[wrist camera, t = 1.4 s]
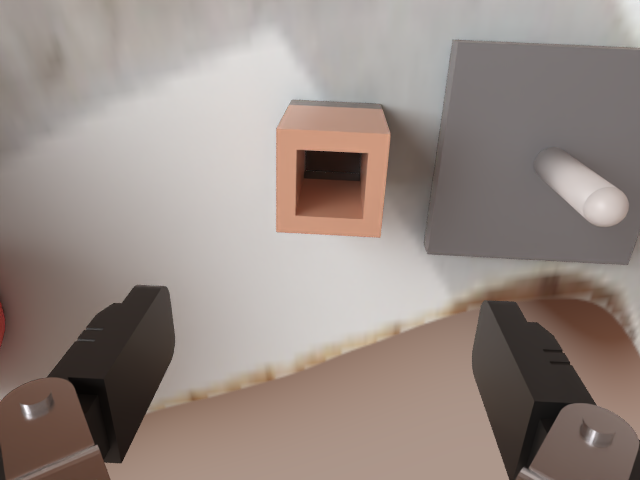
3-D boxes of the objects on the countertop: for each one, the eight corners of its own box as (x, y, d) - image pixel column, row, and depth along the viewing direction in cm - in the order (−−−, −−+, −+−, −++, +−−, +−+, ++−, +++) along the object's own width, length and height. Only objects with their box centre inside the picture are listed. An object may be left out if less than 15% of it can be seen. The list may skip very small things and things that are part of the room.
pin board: (423, 243, 32) (449, 324, 24) (452, 39, 27) (498, 57, 19) (615, 253, 32) (706, 339, 24) (682, 49, 26) (828, 71, 18)
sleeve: (290, 183, 31) (276, 231, 24) (291, 99, 28) (276, 128, 22) (373, 188, 30) (380, 237, 24) (380, 103, 28) (390, 134, 22)
